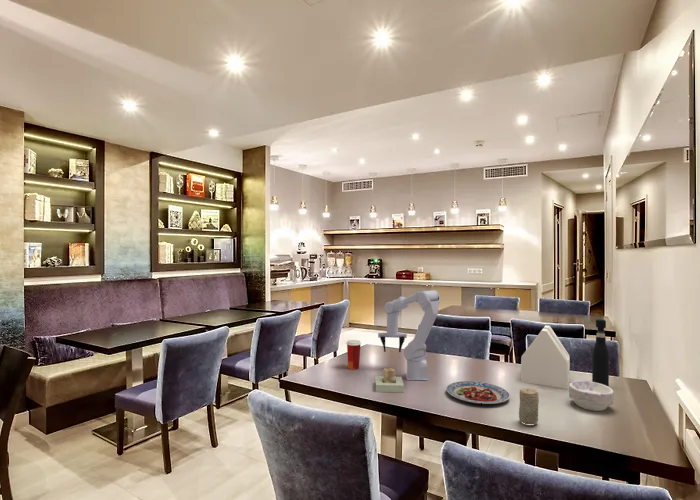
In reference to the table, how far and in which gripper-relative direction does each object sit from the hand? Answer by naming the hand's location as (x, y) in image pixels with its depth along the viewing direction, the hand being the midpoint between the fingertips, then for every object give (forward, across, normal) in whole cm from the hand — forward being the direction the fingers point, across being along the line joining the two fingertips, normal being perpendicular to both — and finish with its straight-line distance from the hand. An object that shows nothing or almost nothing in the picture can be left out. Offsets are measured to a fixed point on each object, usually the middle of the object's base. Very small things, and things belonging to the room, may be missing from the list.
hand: (392, 351), depth 204 cm
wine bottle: (+10, -94, +18) cm, 96 cm away
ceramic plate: (+10, -34, +34) cm, 49 cm away
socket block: (+9, +3, +26) cm, 28 cm away
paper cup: (+10, +20, -2) cm, 22 cm away
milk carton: (+10, -72, +12) cm, 74 cm away
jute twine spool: (+10, -45, +60) cm, 76 cm away
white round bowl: (+10, -76, +43) cm, 88 cm away
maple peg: (+9, +3, +26) cm, 28 cm away
